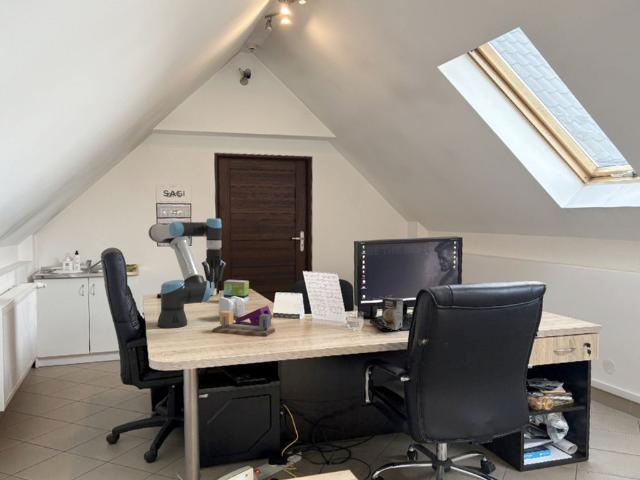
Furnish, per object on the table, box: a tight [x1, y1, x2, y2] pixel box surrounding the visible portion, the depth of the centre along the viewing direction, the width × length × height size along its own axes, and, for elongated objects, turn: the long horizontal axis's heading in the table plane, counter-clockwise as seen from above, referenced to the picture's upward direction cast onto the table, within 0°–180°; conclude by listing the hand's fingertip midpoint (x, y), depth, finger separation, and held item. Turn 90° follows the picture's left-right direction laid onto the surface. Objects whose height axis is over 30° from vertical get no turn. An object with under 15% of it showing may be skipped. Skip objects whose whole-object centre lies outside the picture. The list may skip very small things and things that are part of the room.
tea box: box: [223, 279, 250, 303], centre depth 334 cm, size 15×10×15 cm
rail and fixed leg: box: [220, 313, 272, 331], centre depth 243 cm, size 26×6×8 cm, turn 74°
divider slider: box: [219, 311, 234, 328], centre depth 246 cm, size 5×6×7 cm
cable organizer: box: [218, 296, 246, 318], centre depth 278 cm, size 15×11×12 cm
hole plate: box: [211, 325, 276, 337], centre depth 243 cm, size 29×11×2 cm, turn 74°
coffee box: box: [381, 296, 404, 330], centre depth 253 cm, size 9×6×16 cm
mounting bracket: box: [234, 305, 273, 326], centre depth 262 cm, size 10×9×19 cm
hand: (213, 294), depth 248 cm, fingers closed
